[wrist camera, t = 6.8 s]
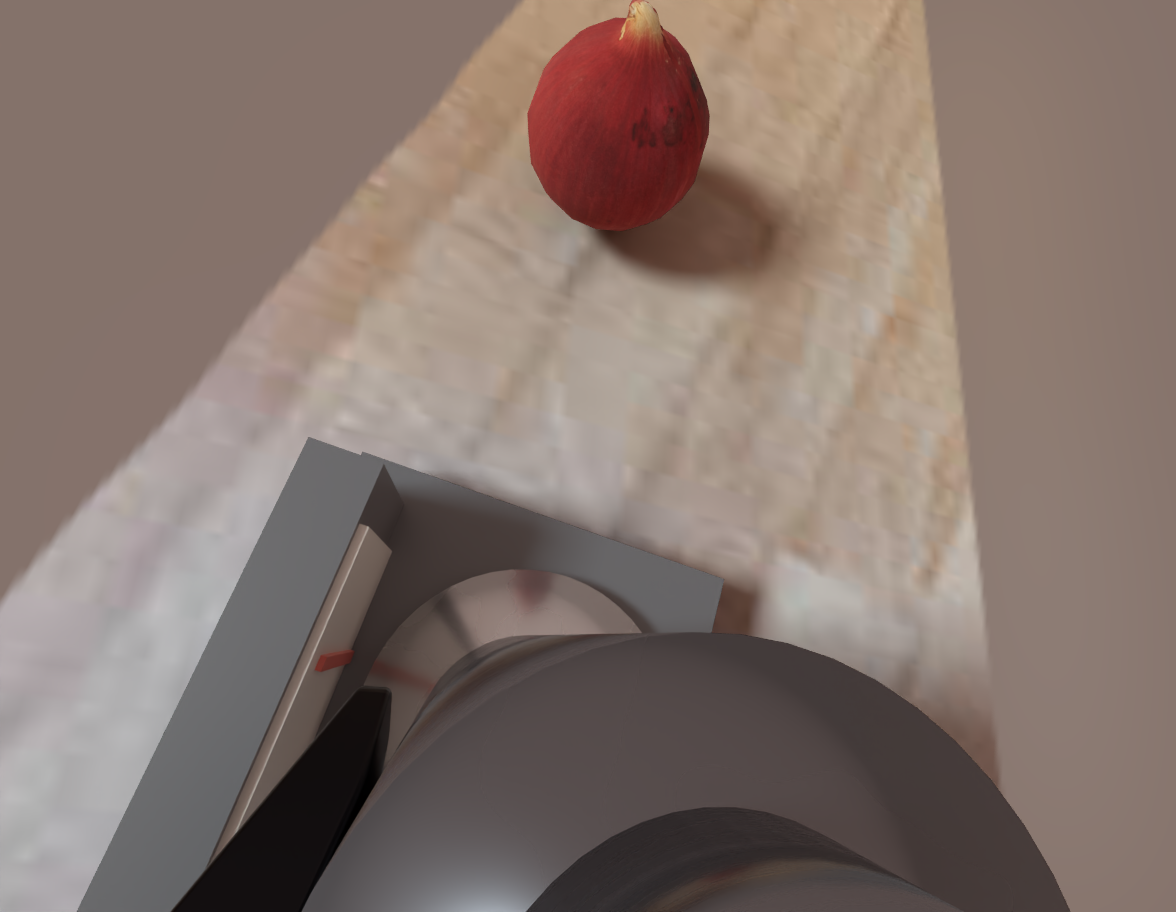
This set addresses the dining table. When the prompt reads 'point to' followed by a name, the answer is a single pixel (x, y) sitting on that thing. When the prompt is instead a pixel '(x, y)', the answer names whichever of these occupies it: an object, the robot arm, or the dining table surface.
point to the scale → (339, 642)
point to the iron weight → (678, 791)
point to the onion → (619, 122)
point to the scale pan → (482, 631)
